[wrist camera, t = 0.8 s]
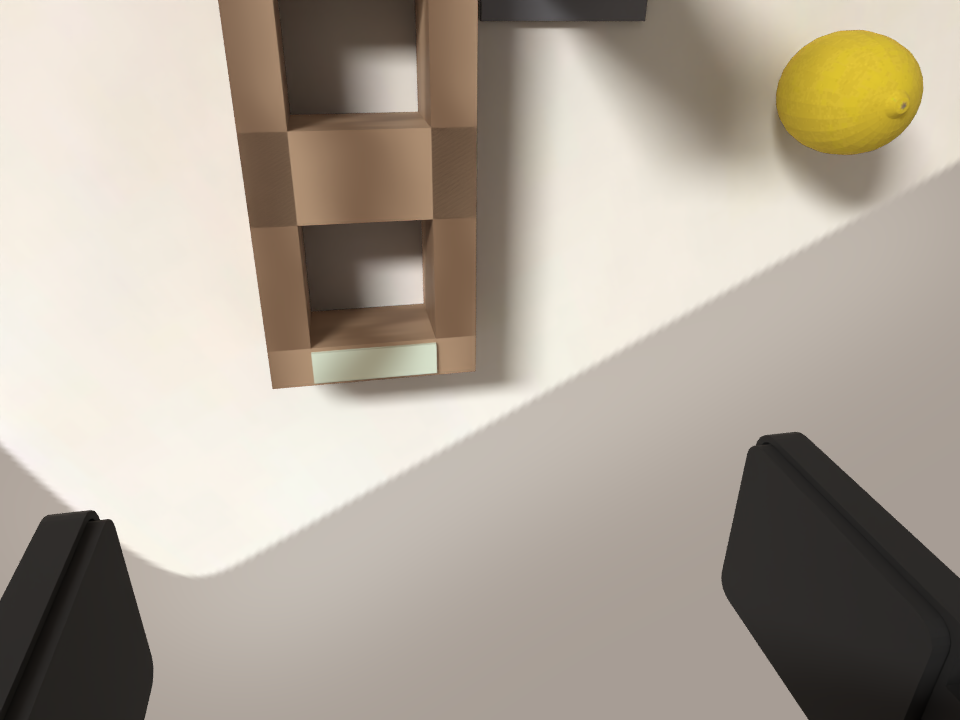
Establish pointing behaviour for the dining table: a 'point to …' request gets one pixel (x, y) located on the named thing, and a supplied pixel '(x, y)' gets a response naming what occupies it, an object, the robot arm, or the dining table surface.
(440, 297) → the socket block
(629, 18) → the mat
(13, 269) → the dining table surface
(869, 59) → the lemon
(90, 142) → the dining table surface
